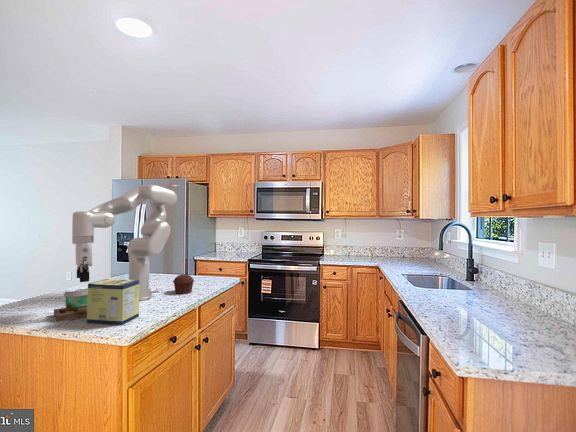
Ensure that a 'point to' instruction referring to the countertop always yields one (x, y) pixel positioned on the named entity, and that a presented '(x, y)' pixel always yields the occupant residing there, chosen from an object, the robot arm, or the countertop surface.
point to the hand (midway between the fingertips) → (82, 279)
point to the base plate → (68, 314)
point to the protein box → (113, 301)
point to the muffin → (183, 284)
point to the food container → (76, 300)
